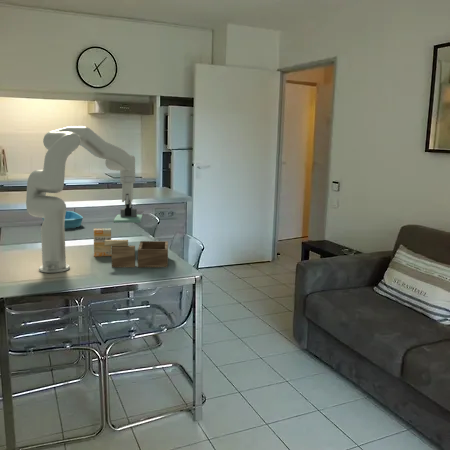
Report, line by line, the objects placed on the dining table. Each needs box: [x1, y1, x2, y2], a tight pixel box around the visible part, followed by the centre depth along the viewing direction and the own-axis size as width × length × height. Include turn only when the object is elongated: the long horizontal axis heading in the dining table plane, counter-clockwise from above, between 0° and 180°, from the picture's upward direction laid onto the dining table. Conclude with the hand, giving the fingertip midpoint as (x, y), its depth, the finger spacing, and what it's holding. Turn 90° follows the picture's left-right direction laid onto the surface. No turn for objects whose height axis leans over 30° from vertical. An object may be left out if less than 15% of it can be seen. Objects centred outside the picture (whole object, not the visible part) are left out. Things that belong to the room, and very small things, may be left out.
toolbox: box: [111, 240, 169, 268], centre depth 224 cm, size 18×24×9 cm
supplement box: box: [93, 228, 112, 258], centre depth 236 cm, size 8×5×13 cm, turn 105°
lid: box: [113, 208, 143, 224], centre depth 250 cm, size 18×13×5 cm
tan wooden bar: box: [104, 239, 129, 247], centre depth 215 cm, size 2×10×2 cm, turn 96°
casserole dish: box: [42, 210, 84, 230], centre depth 314 cm, size 37×22×7 cm, turn 31°
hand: (128, 214), depth 252 cm, fingers closed on lid, 3 cm apart
